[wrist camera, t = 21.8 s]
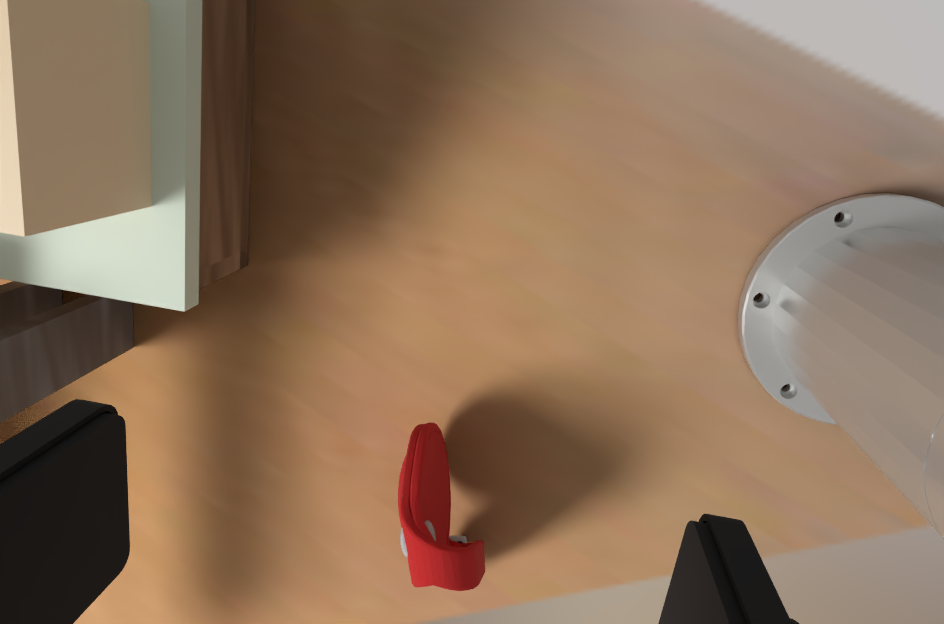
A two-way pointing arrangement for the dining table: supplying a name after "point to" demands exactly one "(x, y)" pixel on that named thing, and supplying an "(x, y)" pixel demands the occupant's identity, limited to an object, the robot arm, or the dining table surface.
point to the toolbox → (220, 232)
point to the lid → (102, 147)
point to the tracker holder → (433, 518)
